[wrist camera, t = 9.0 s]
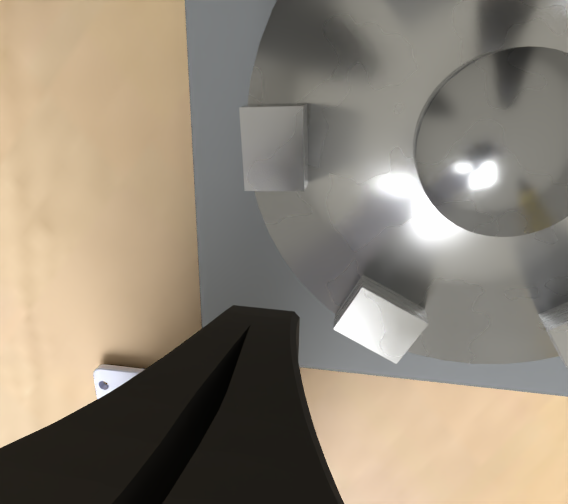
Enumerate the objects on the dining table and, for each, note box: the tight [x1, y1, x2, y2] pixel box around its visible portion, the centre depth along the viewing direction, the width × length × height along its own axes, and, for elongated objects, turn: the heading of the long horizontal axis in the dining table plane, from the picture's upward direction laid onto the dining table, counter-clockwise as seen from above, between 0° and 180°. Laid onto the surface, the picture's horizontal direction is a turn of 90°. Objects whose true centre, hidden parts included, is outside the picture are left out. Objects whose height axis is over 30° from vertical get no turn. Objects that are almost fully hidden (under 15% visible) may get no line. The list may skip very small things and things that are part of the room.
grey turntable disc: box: [239, 0, 568, 369], centre depth 12 cm, size 15×15×7 cm
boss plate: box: [185, 0, 568, 397], centre depth 16 cm, size 20×20×2 cm
